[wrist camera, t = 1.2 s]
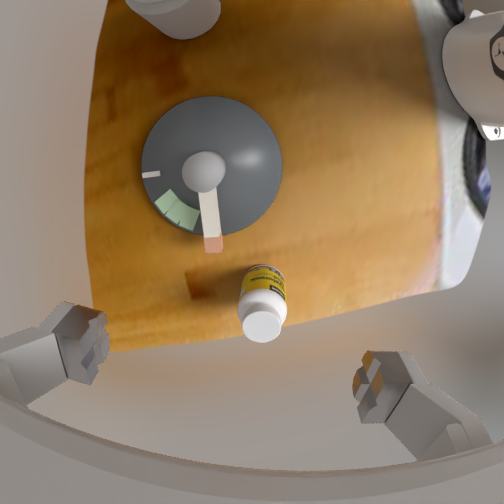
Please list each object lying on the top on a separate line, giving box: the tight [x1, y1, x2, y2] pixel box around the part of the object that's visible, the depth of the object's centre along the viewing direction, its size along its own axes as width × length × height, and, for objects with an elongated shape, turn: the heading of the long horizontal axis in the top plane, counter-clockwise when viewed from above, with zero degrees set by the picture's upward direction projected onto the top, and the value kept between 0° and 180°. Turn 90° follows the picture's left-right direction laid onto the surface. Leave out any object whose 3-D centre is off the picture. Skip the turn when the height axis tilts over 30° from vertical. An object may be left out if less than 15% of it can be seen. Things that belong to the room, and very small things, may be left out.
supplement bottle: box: [238, 265, 287, 343], centre depth 36 cm, size 5×5×10 cm
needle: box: [182, 150, 227, 253], centre depth 33 cm, size 11×4×4 cm, turn 4°
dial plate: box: [141, 96, 282, 235], centre depth 34 cm, size 16×16×1 cm
